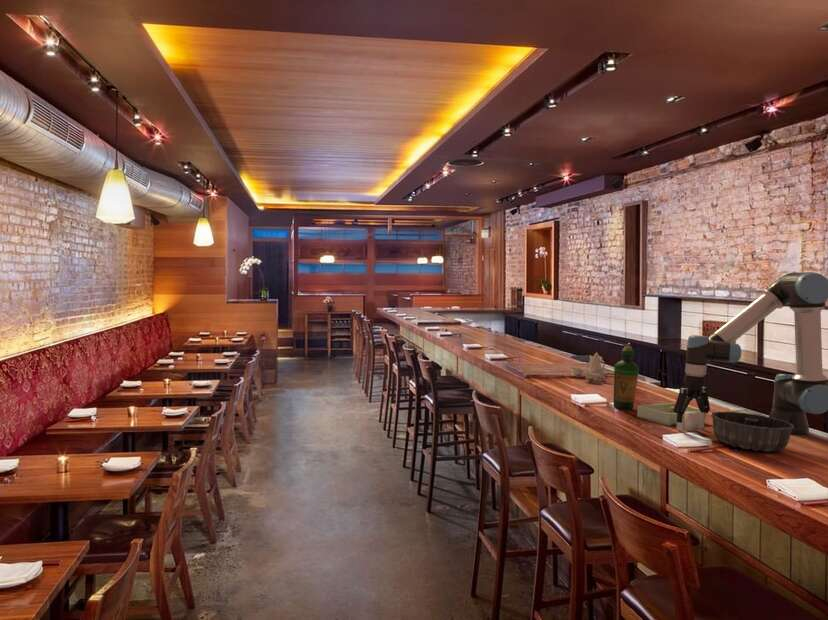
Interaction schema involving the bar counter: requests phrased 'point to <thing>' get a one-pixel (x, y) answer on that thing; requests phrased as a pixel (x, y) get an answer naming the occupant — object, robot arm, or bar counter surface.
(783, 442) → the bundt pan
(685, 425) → the cylinder
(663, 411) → the tote
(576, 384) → the bar counter surface
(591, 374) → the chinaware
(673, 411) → the cube
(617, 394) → the bottle
